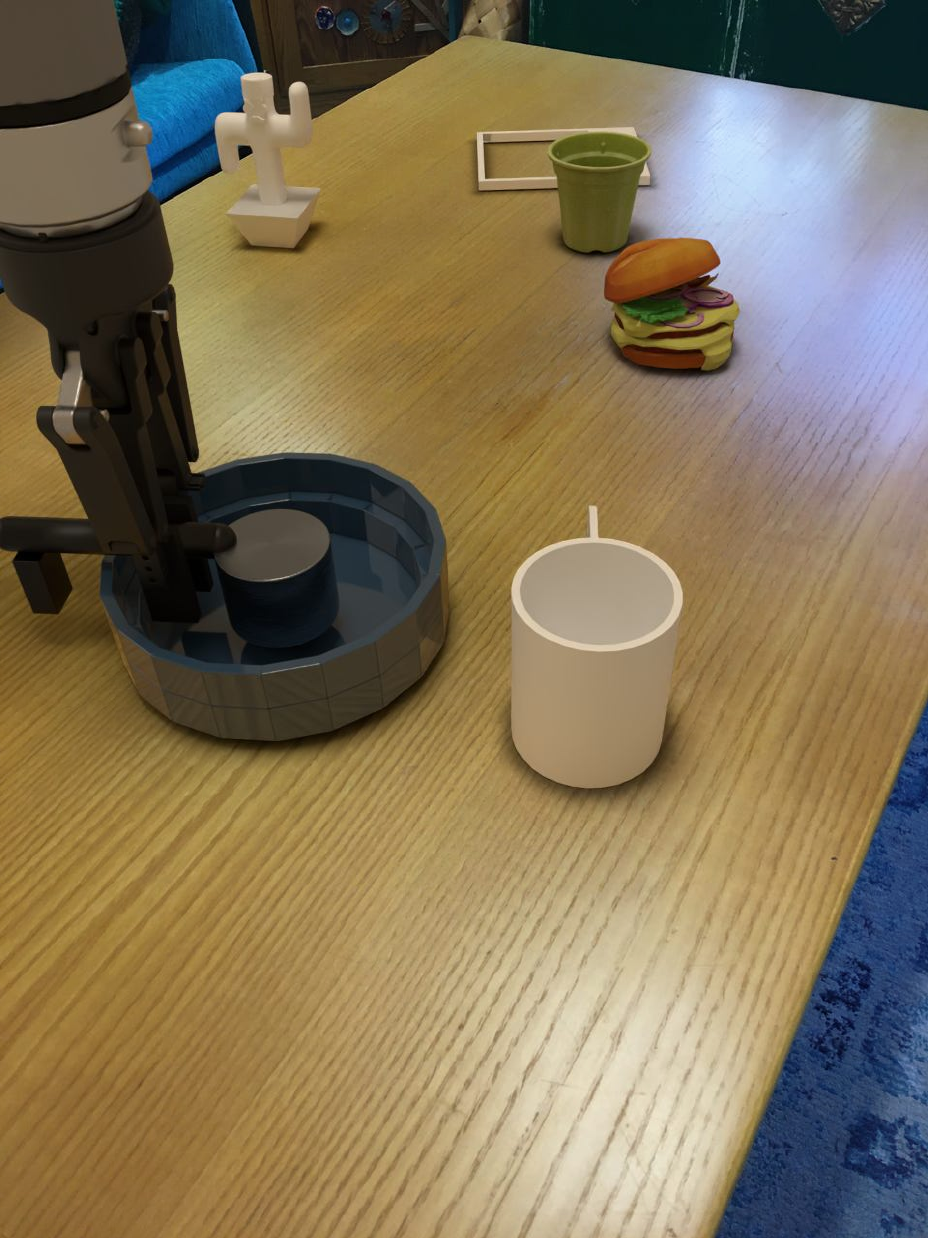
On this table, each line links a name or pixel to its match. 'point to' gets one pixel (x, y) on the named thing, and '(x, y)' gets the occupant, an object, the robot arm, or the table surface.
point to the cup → (592, 658)
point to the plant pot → (597, 187)
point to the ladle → (245, 559)
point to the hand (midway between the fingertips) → (183, 601)
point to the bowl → (329, 664)
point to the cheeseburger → (670, 305)
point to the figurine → (268, 162)
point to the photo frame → (535, 136)
